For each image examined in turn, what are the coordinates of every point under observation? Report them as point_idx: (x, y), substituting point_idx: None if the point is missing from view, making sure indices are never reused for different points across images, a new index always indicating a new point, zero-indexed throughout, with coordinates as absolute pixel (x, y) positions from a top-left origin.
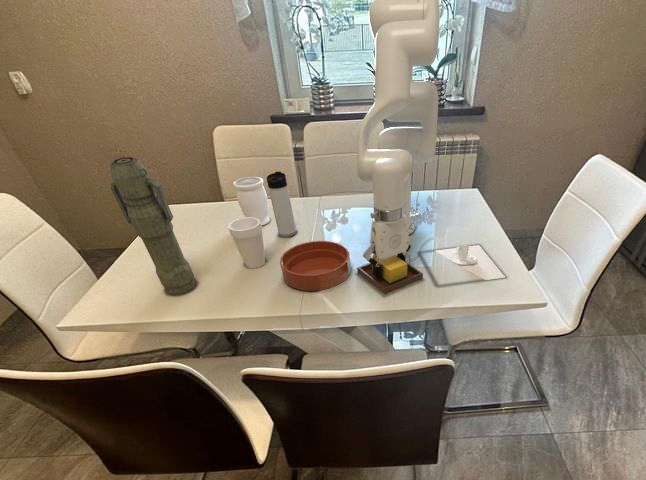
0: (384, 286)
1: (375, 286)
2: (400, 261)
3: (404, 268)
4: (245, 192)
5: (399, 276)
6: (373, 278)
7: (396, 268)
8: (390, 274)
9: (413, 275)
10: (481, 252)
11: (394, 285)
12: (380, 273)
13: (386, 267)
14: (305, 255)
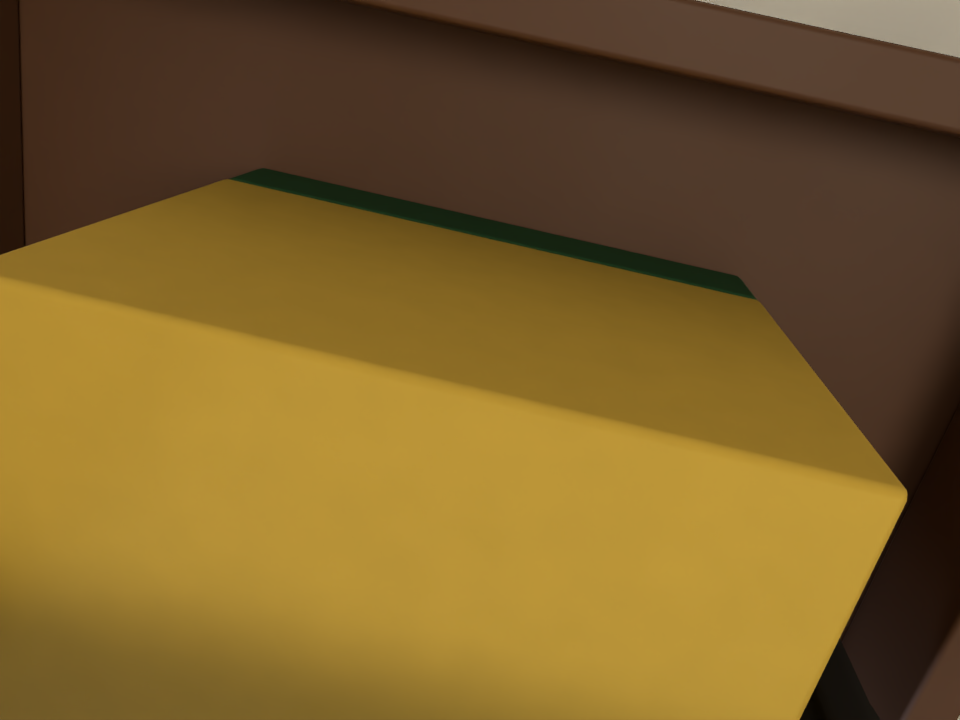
0: (831, 361)
1: None
2: (80, 575)
3: (196, 259)
4: None
5: (452, 252)
6: (929, 681)
7: (547, 397)
8: (817, 398)
9: (54, 151)
10: None
11: (921, 50)
12: (830, 673)
13: (772, 717)
14: None
